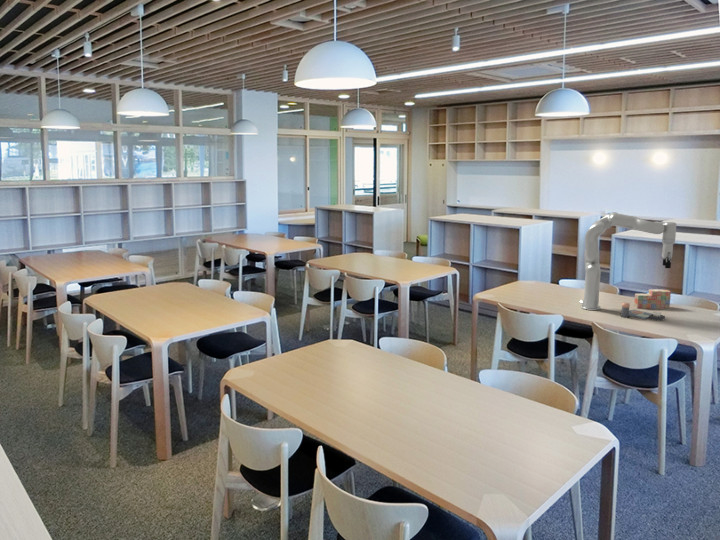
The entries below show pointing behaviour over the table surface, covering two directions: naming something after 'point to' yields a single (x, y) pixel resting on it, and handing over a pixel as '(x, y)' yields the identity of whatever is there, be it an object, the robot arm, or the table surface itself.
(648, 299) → the stack of blocks
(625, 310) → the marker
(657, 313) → the button
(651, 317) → the button housing
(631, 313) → the picture board
